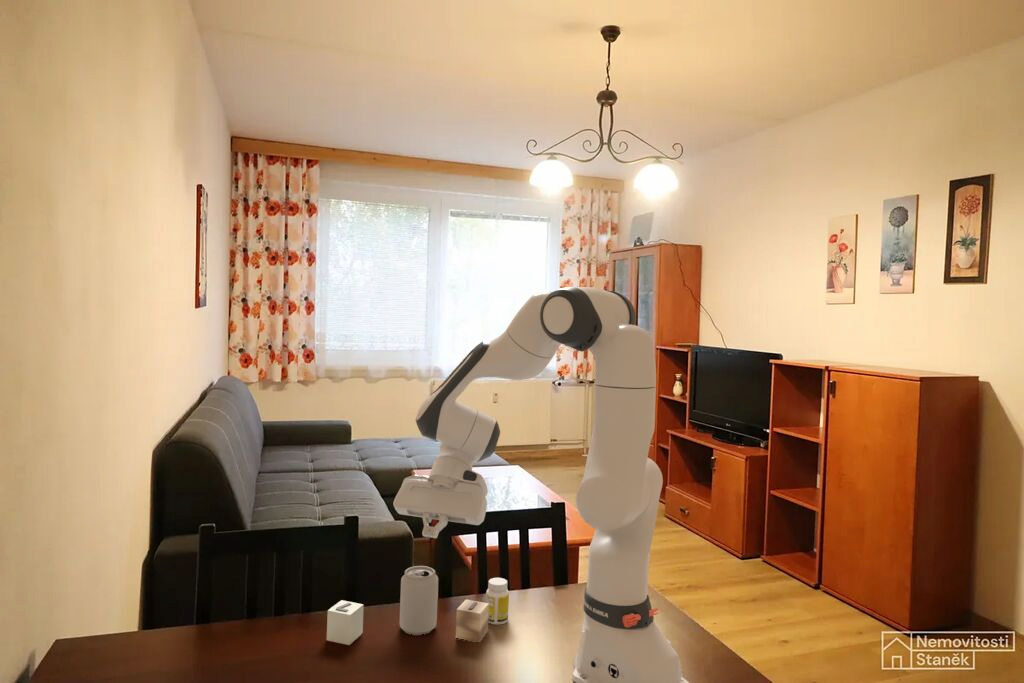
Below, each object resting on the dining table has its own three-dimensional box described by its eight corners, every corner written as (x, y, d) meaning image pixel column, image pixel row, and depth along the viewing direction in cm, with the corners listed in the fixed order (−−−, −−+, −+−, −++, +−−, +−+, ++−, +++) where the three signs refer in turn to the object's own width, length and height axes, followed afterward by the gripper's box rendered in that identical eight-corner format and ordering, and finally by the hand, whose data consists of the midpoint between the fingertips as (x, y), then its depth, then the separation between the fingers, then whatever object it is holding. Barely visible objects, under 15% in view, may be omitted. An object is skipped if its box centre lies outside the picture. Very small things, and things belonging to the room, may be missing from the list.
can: (437, 636, 135) (439, 577, 135) (399, 637, 134) (401, 578, 134) (435, 619, 143) (437, 563, 142) (399, 620, 142) (401, 564, 141)
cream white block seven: (362, 633, 135) (363, 603, 135) (349, 645, 130) (350, 613, 130) (340, 629, 137) (341, 599, 136) (326, 640, 132) (327, 609, 132)
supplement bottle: (509, 616, 146) (510, 577, 145) (506, 626, 141) (508, 586, 141) (486, 614, 146) (488, 575, 146) (483, 624, 141) (485, 584, 141)
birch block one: (487, 632, 138) (488, 602, 138) (479, 643, 133) (480, 612, 133) (464, 627, 140) (466, 598, 139) (455, 638, 135) (456, 608, 135)
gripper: (402, 466, 151) (379, 522, 142) (488, 476, 145) (471, 535, 136) (410, 481, 155) (388, 536, 147) (494, 492, 149) (477, 550, 140)
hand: (429, 536), depth 141 cm, fingers closed
